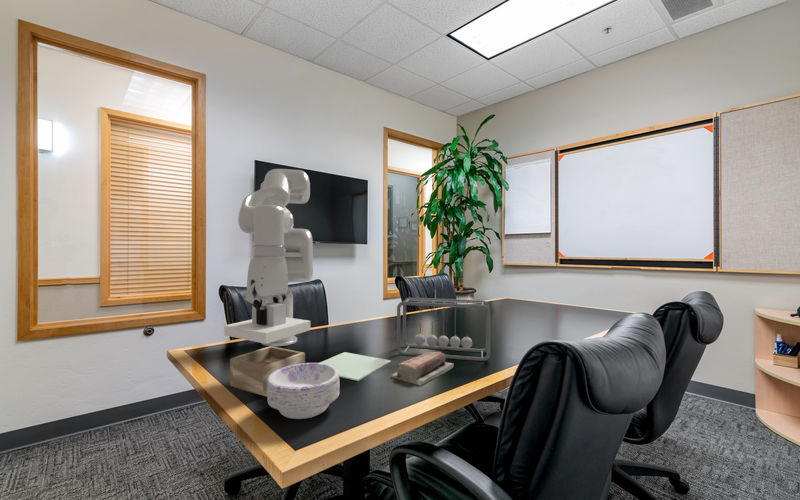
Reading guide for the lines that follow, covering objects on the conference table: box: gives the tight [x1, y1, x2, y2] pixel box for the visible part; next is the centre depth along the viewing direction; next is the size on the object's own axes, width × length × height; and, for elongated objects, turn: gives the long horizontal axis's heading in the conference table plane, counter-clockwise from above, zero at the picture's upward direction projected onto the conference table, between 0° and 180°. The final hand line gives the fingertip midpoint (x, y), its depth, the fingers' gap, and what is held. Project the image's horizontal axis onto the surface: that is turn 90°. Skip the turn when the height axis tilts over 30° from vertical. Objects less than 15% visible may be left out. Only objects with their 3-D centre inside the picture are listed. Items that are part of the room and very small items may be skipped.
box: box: [229, 346, 306, 397], centre depth 93 cm, size 13×13×7 cm
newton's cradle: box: [396, 297, 491, 362], centre depth 119 cm, size 30×10×18 cm, turn 77°
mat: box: [319, 351, 392, 382], centre depth 106 cm, size 18×18×1 cm
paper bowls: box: [266, 362, 341, 420], centre depth 78 cm, size 15×15×8 cm
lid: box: [223, 301, 312, 344], centre depth 93 cm, size 15×15×8 cm
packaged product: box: [390, 351, 454, 387], centre depth 101 cm, size 18×5×10 cm
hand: (268, 321), depth 93 cm, fingers closed on lid, 4 cm apart
